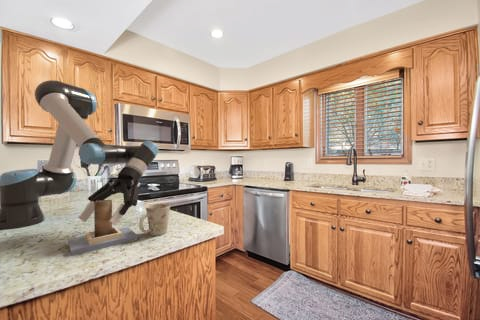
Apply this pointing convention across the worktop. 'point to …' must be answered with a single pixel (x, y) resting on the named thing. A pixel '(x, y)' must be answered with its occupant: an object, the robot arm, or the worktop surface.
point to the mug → (156, 219)
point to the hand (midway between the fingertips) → (96, 221)
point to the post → (102, 217)
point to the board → (100, 240)
